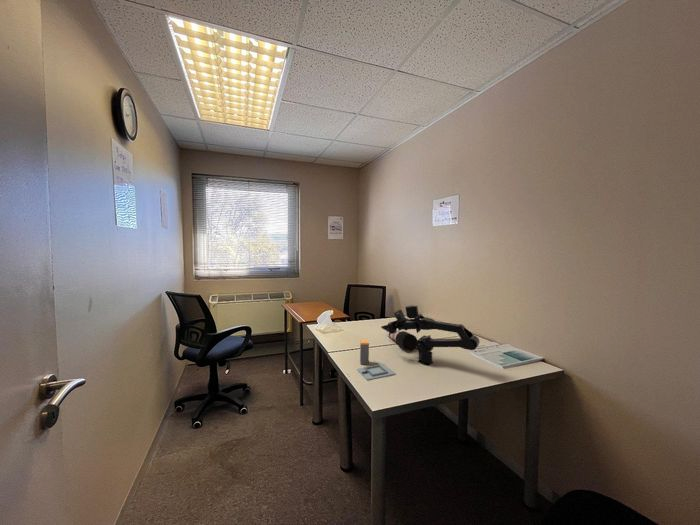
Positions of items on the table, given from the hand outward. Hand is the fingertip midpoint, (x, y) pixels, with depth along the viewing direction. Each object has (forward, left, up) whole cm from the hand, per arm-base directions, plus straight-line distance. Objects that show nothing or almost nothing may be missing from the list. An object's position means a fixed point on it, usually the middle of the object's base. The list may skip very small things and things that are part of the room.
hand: (385, 325), depth 167 cm
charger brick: (-4, +21, -16) cm, 26 cm away
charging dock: (-16, +24, -16) cm, 33 cm away
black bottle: (+5, -19, -17) cm, 26 cm away
